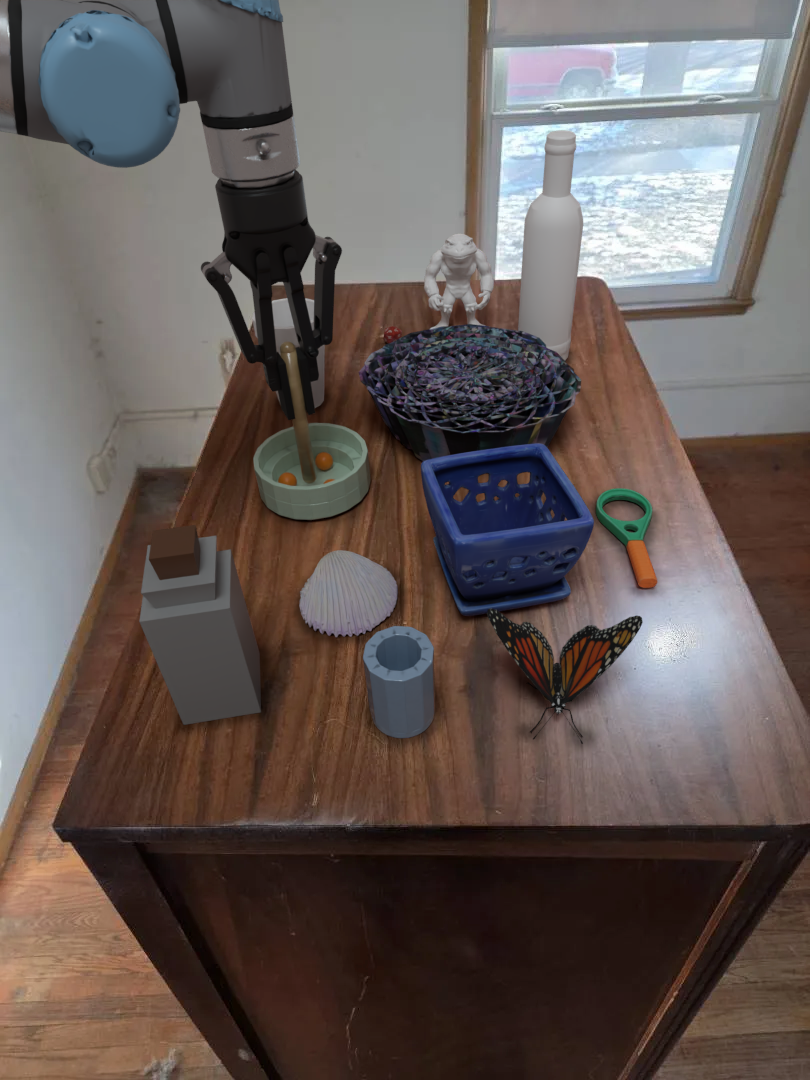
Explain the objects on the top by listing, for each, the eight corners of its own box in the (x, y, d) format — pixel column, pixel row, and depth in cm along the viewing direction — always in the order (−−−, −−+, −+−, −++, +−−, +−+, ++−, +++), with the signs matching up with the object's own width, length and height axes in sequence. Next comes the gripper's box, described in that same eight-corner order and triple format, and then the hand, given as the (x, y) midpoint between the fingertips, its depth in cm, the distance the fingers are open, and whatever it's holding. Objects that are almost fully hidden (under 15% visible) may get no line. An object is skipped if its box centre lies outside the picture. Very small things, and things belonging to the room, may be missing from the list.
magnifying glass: (590, 496, 85) (592, 485, 84) (643, 495, 85) (646, 483, 84) (615, 590, 74) (618, 578, 73) (676, 589, 73) (680, 577, 72)
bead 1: (277, 494, 87) (274, 479, 86) (282, 483, 89) (279, 468, 87) (295, 495, 87) (293, 480, 85) (299, 483, 88) (297, 468, 87)
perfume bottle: (261, 712, 65) (217, 565, 53) (183, 725, 64) (121, 579, 52) (259, 653, 70) (219, 507, 58) (187, 664, 69) (131, 519, 57)
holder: (366, 736, 62) (358, 678, 57) (375, 683, 67) (368, 624, 61) (432, 740, 62) (430, 682, 57) (437, 686, 66) (435, 627, 61)
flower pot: (536, 526, 82) (545, 436, 74) (583, 612, 72) (599, 519, 64) (420, 547, 80) (417, 457, 72) (452, 637, 70) (452, 545, 62)
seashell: (372, 528, 78) (409, 571, 70) (379, 571, 81) (415, 617, 72) (279, 555, 75) (307, 604, 67) (289, 600, 78) (317, 651, 69)
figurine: (490, 319, 120) (494, 225, 110) (494, 338, 115) (497, 241, 105) (424, 322, 121) (422, 228, 111) (425, 340, 116) (422, 244, 106)
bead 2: (314, 473, 90) (312, 458, 88) (318, 462, 91) (315, 448, 90) (332, 474, 90) (330, 459, 88) (335, 463, 91) (333, 448, 90)
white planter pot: (270, 386, 107) (254, 300, 99) (333, 380, 108) (323, 294, 99) (268, 421, 100) (250, 332, 92) (336, 414, 101) (325, 325, 92)
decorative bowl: (485, 370, 111) (484, 306, 105) (620, 441, 92) (628, 367, 86) (338, 426, 102) (327, 359, 95) (456, 518, 83) (452, 442, 76)
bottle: (527, 338, 115) (542, 123, 95) (576, 348, 112) (602, 128, 92) (507, 361, 110) (519, 139, 90) (557, 372, 107) (581, 144, 86)
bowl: (248, 521, 84) (240, 487, 81) (275, 454, 94) (269, 421, 91) (361, 525, 83) (357, 491, 80) (377, 457, 93) (374, 424, 89)
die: (384, 340, 117) (383, 322, 115) (403, 339, 116) (402, 321, 114) (382, 348, 114) (381, 330, 112) (402, 348, 114) (401, 330, 112)
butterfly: (480, 743, 62) (483, 668, 55) (486, 652, 69) (489, 576, 62) (629, 756, 60) (651, 681, 53) (619, 662, 67) (637, 586, 60)
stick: (302, 486, 84) (276, 345, 73) (305, 477, 86) (280, 338, 74) (315, 486, 84) (292, 346, 73) (318, 478, 85) (296, 338, 74)
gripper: (181, 201, 58) (240, 447, 74) (352, 170, 62) (374, 410, 78) (164, 177, 63) (223, 411, 79) (323, 150, 67) (349, 378, 83)
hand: (298, 410), depth 79 cm, fingers closed on stick, 1 cm apart
